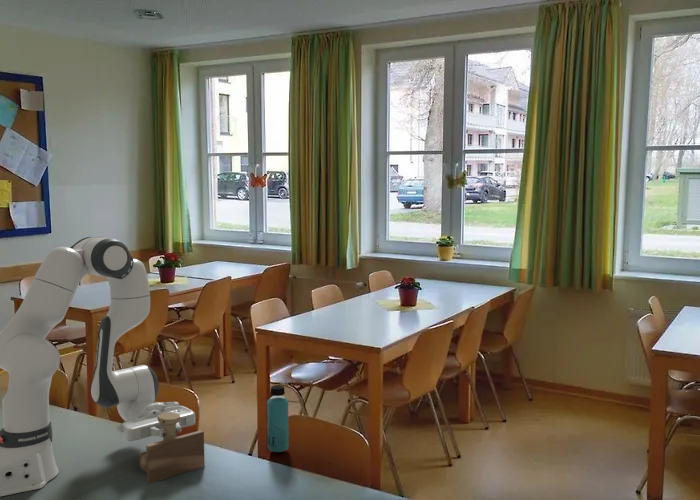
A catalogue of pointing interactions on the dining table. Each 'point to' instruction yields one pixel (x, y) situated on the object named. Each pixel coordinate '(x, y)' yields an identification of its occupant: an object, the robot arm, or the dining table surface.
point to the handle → (169, 423)
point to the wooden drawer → (173, 456)
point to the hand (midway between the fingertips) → (171, 432)
